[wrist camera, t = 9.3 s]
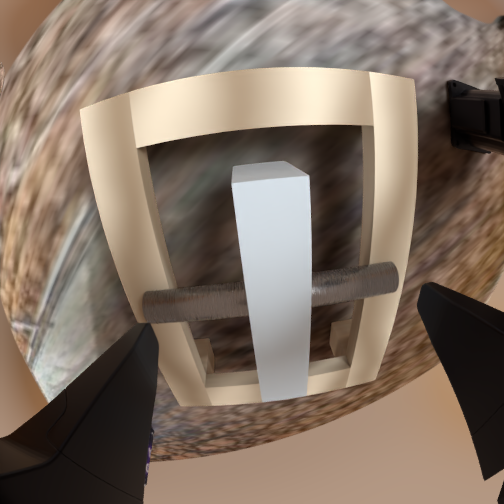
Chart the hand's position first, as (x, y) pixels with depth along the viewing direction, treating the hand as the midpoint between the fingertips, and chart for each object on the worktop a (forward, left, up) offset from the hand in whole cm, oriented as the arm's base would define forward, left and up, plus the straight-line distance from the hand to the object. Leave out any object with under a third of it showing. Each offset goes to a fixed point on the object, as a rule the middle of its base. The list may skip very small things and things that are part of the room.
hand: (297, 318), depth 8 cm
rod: (0, +4, -7) cm, 8 cm away
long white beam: (0, +4, -9) cm, 10 cm away
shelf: (0, +4, -13) cm, 13 cm away
